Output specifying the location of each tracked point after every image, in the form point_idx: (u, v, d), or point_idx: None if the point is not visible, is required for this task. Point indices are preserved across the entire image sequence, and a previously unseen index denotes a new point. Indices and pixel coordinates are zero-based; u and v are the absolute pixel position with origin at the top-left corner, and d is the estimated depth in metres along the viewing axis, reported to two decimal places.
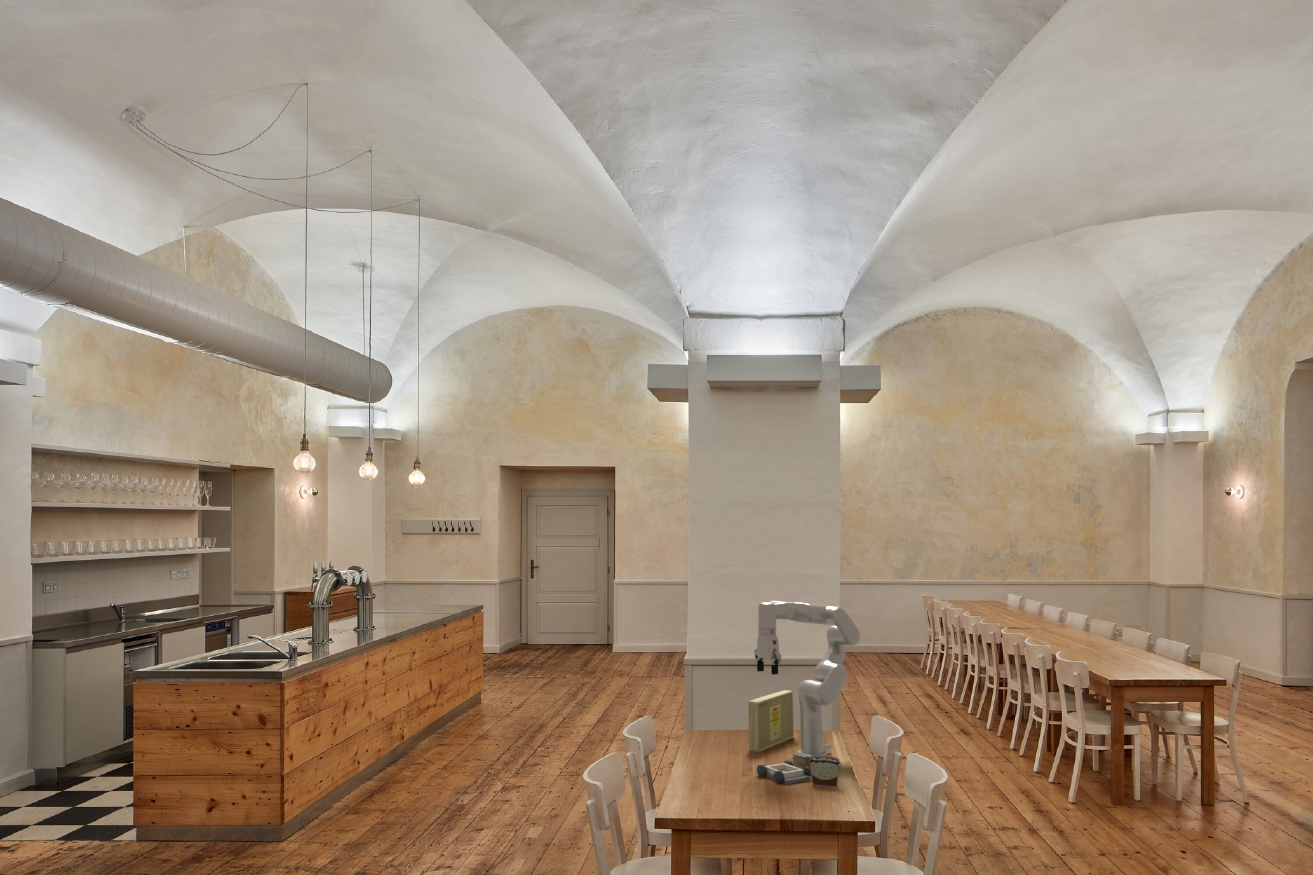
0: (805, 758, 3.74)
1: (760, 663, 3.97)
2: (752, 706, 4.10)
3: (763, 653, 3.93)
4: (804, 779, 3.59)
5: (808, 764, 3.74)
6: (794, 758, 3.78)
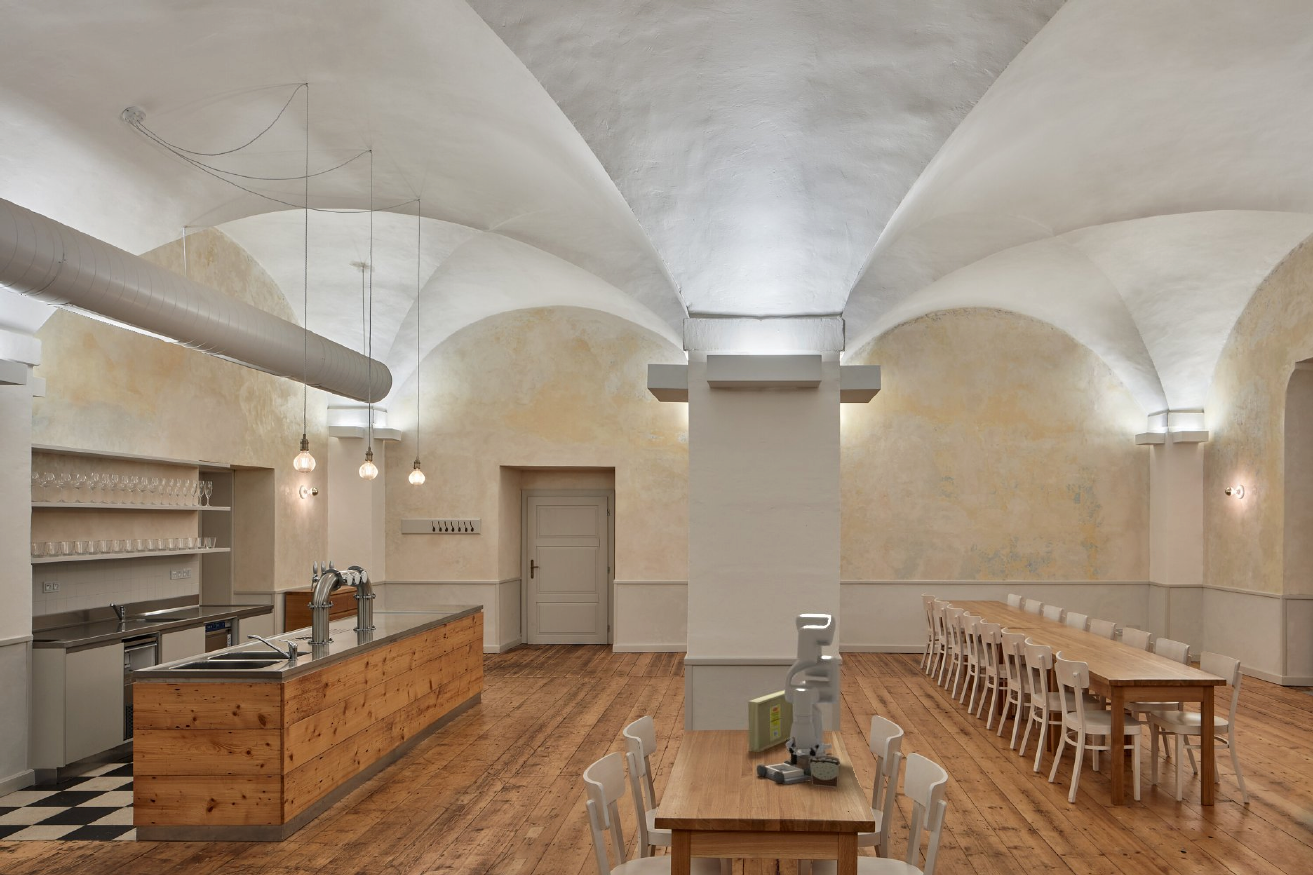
0: (805, 758, 3.74)
1: None
2: (752, 706, 4.10)
3: (807, 742, 3.75)
4: (804, 779, 3.59)
5: (808, 764, 3.74)
6: None
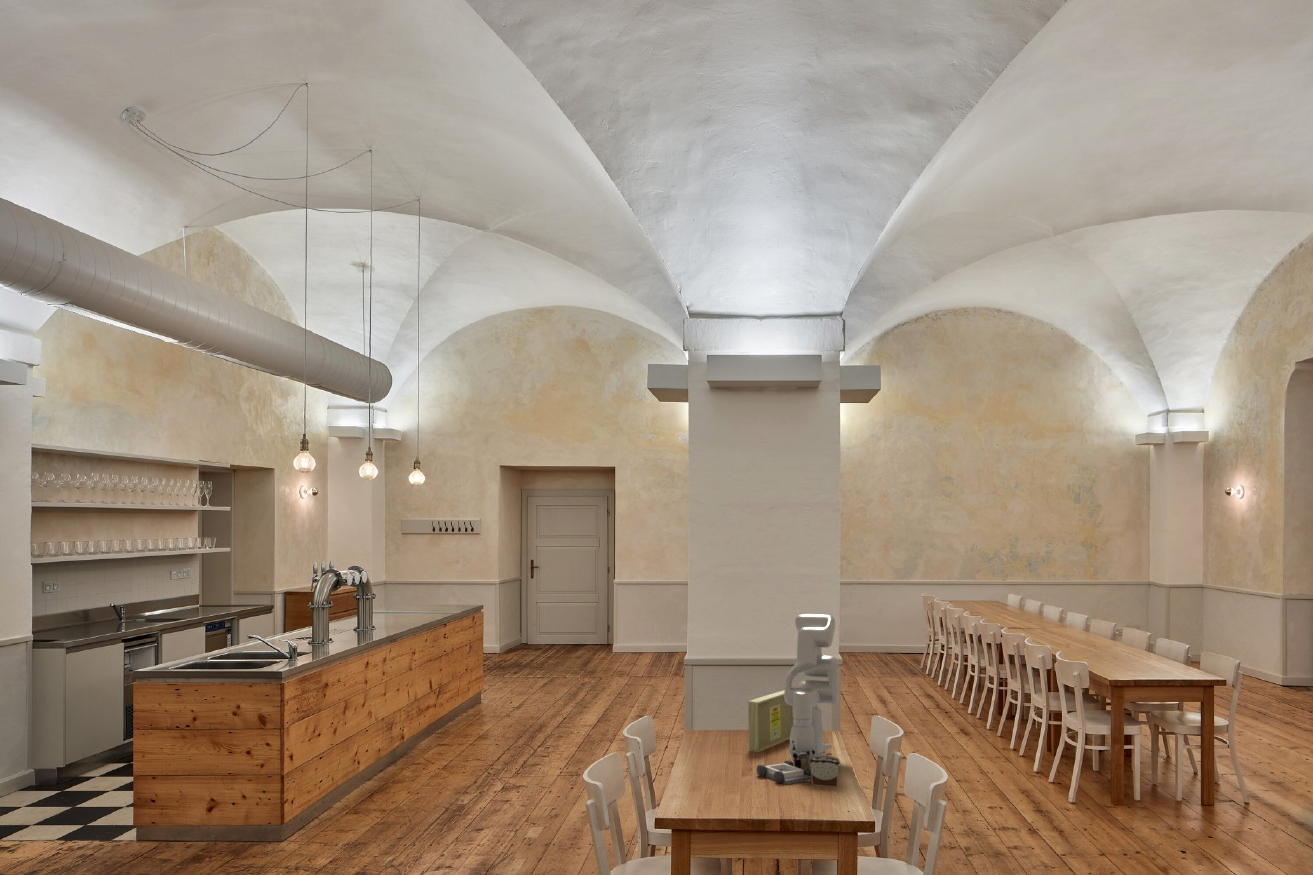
0: (805, 758, 3.74)
1: None
2: (752, 706, 4.10)
3: (806, 745, 3.75)
4: (804, 779, 3.59)
5: (808, 764, 3.74)
6: None
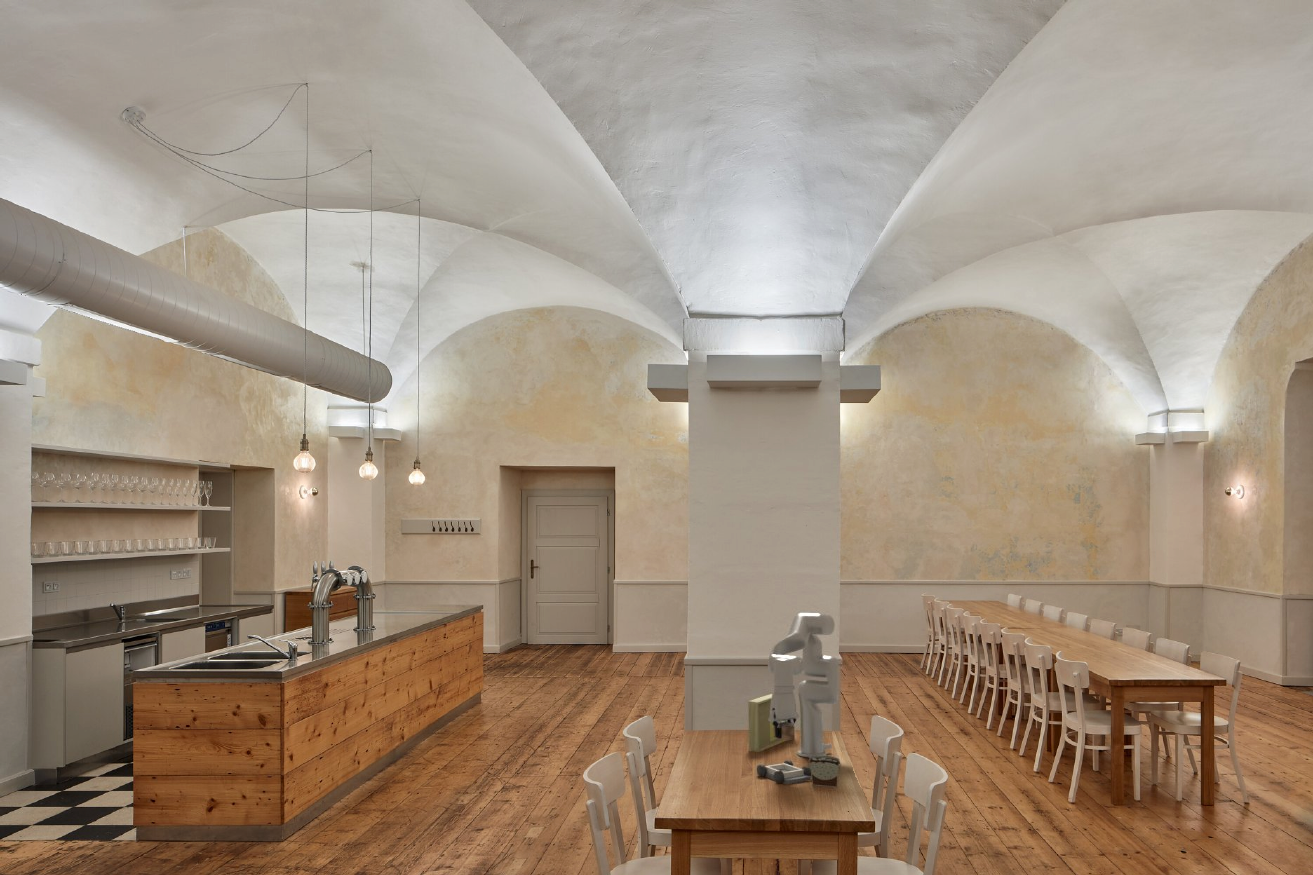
0: (786, 726, 3.64)
1: None
2: (752, 706, 4.10)
3: (787, 713, 3.66)
4: (804, 779, 3.59)
5: (789, 732, 3.64)
6: None
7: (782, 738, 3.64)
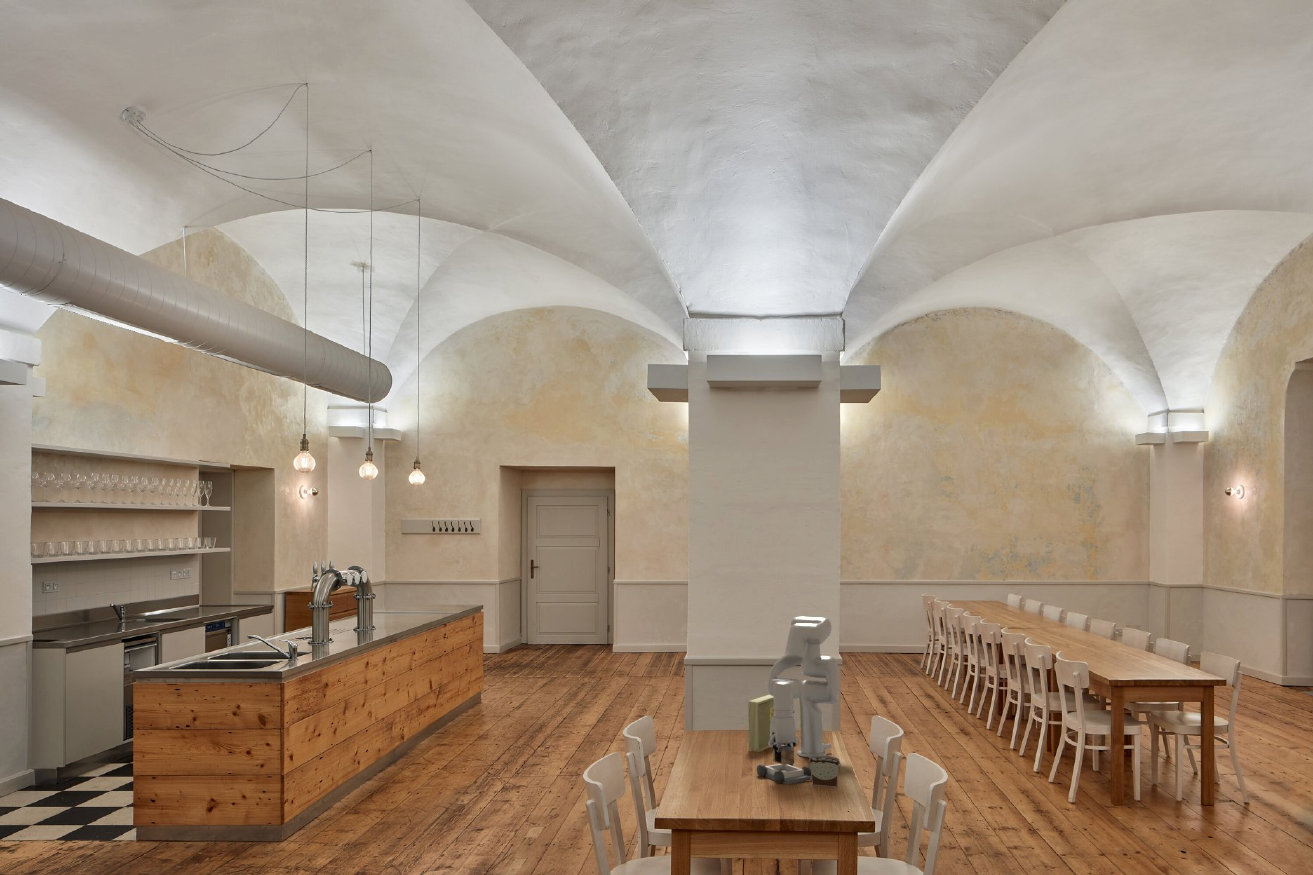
0: (785, 750, 3.63)
1: None
2: (752, 706, 4.10)
3: (787, 737, 3.65)
4: (804, 779, 3.59)
5: (788, 756, 3.63)
6: None
7: (782, 762, 3.62)
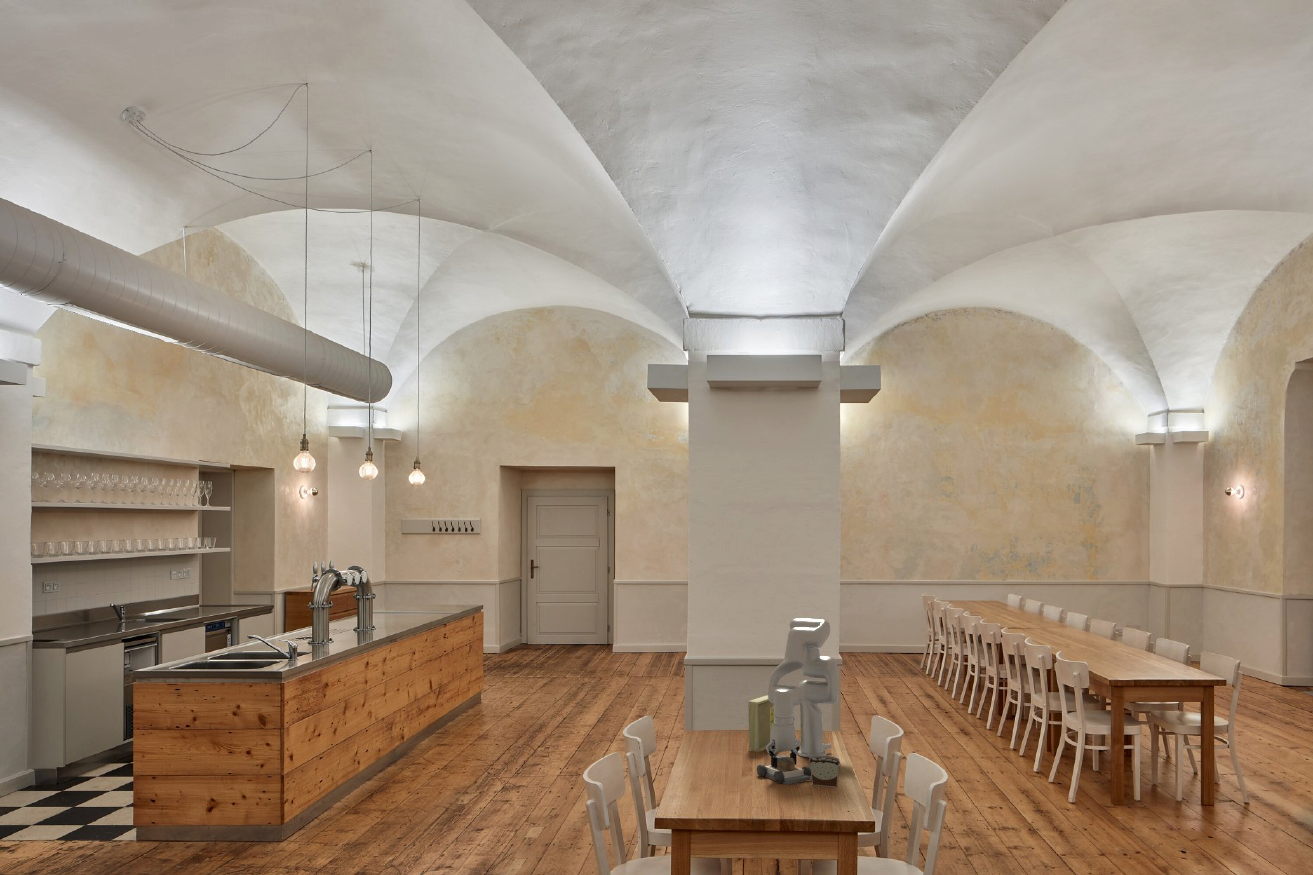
0: (786, 761, 3.62)
1: None
2: (752, 706, 4.10)
3: (787, 744, 3.64)
4: (804, 779, 3.59)
5: (789, 767, 3.63)
6: None
7: None
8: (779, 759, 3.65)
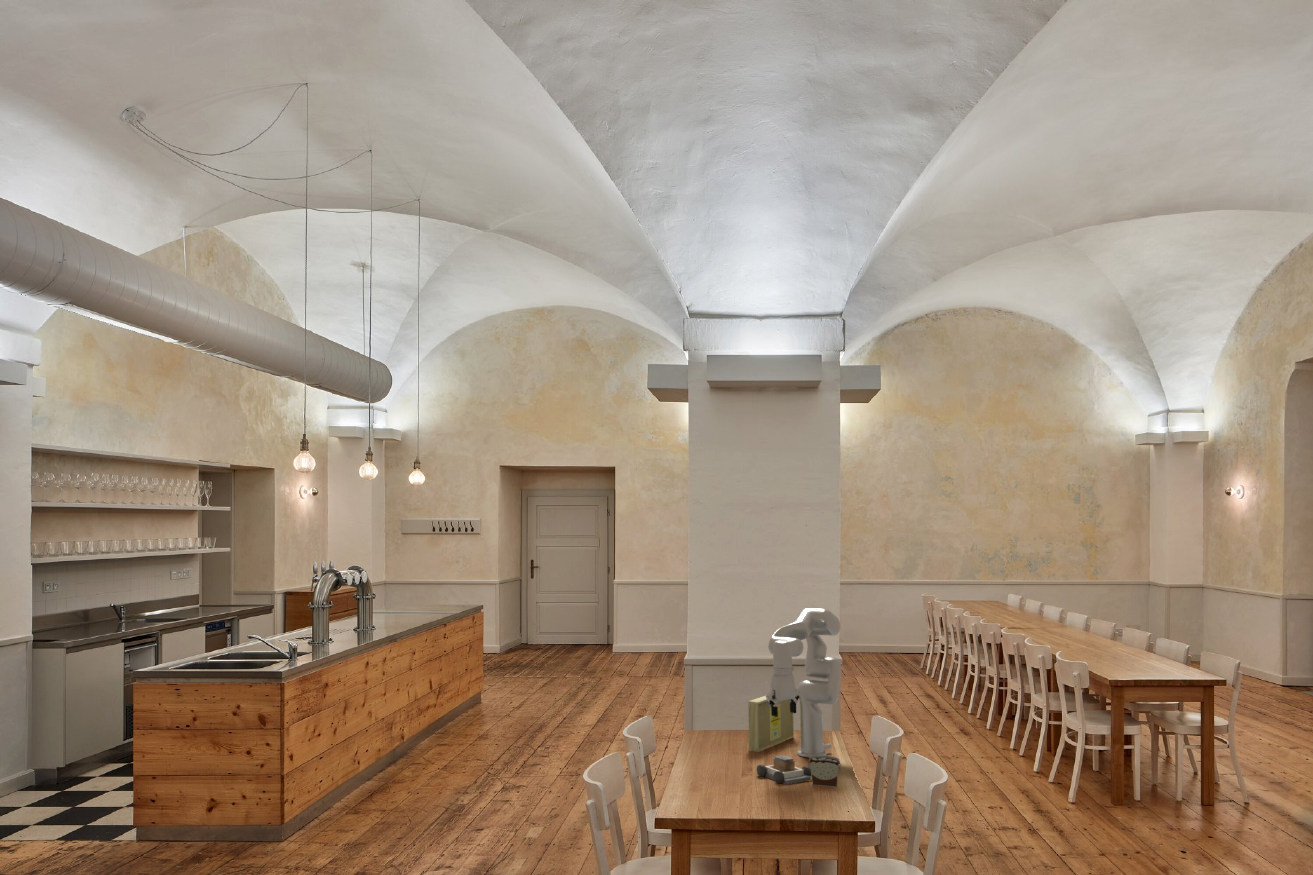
0: (786, 761, 3.62)
1: None
2: (752, 706, 4.10)
3: (787, 694, 3.74)
4: (804, 779, 3.59)
5: (789, 767, 3.63)
6: (775, 761, 3.67)
7: None
8: (779, 759, 3.65)
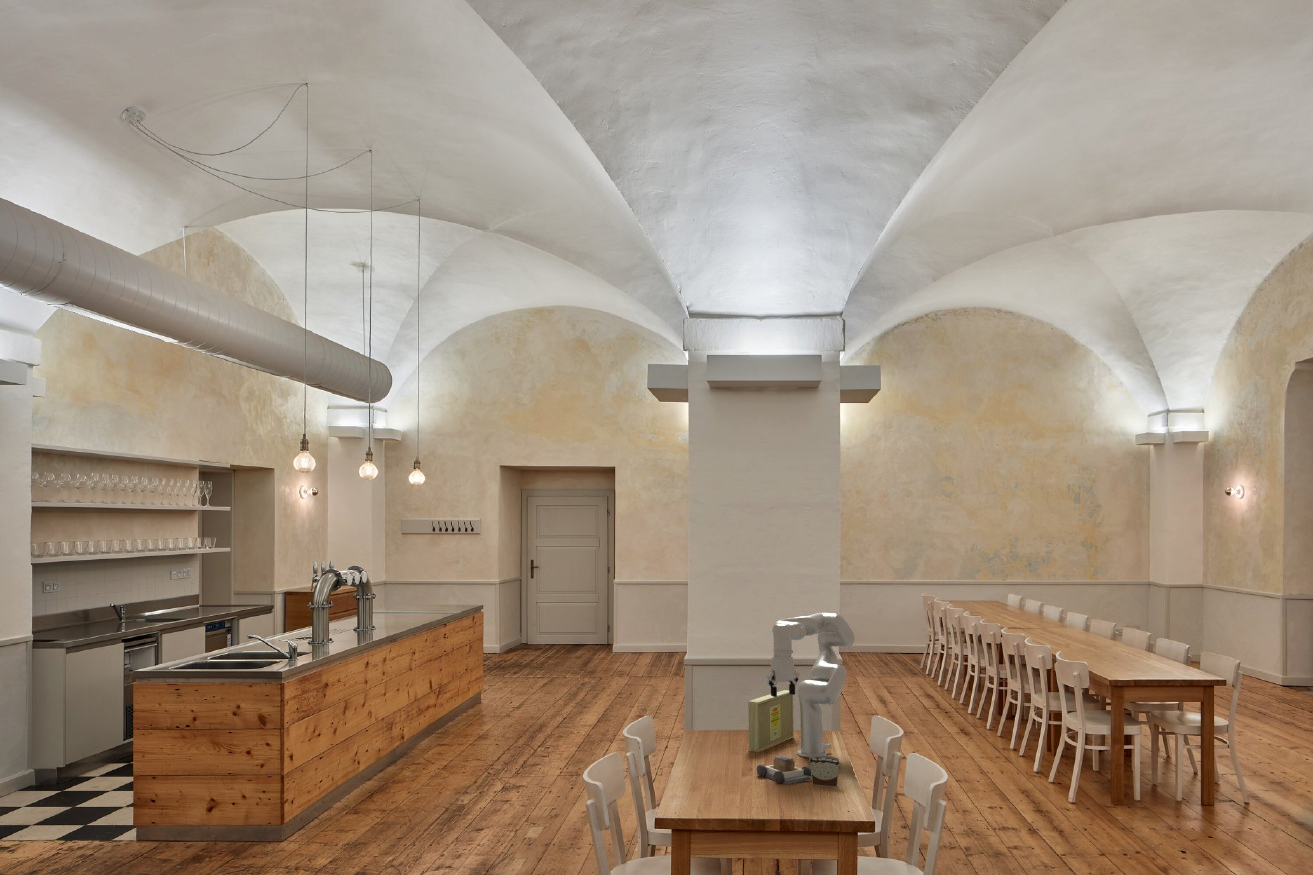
0: (786, 761, 3.62)
1: None
2: (752, 706, 4.10)
3: (786, 675, 3.86)
4: (804, 779, 3.59)
5: (789, 767, 3.63)
6: (775, 761, 3.67)
7: None
8: (779, 759, 3.65)
